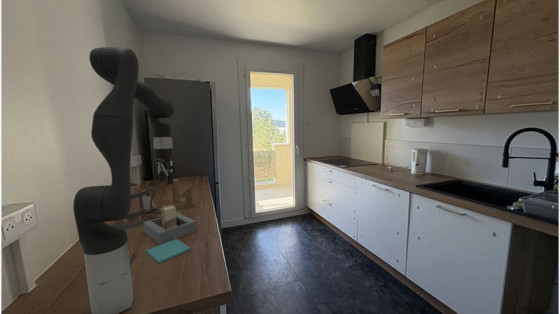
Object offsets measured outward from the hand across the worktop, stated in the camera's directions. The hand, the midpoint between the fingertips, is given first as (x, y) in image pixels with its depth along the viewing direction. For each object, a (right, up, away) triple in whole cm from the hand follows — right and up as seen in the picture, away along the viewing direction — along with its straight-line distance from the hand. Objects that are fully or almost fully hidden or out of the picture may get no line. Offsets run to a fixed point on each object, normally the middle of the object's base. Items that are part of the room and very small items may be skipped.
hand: (166, 182), depth 103 cm
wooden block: (-8, -20, +36) cm, 42 cm away
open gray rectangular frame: (0, -23, +3) cm, 24 cm away
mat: (+8, -25, -14) cm, 30 cm away
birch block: (0, -21, +3) cm, 22 cm away
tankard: (-23, -23, +16) cm, 36 cm away
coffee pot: (-30, -20, +35) cm, 50 cm away
